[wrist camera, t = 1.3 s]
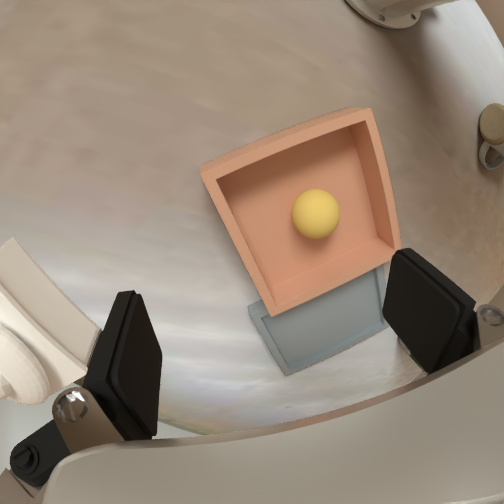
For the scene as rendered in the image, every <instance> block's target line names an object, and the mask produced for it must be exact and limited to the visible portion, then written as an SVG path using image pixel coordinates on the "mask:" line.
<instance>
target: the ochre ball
mask: <svg viewBox="0 0 504 504" xmlns="http://www.w3.org/2000/svg"><path fill="white" fill-rule="evenodd" d="M291 218H292V222H293V224H294V226H295V228H296V229H297V230H298V231H299V232H300V233H301V234H303V235H304V236H306V237H309V238H314V239H318V238H323V237H326V236H328V235H330V234H331V233H332V232H333V231H334V230H335V229H336V228H337V226H338V224H339V221H340V207H339V204H338V202H337V200H336V199H335V198H334V197H333V196H332V195H331V194H330V193H328V192H327V191H324V190H321V189H310V190H307V191H304V192H302V193H301V194H300V195H299V196H298V197H297V198H296V199H295V201H294V203H293V205H292V209H291Z"/></svg>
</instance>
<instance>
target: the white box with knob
mask: <svg viewBox="0 0 504 504" xmlns="http://www.w3.org/2000/svg"><path fill="white" fill-rule="evenodd" d="M99 330H100V327H99V326H98V325H97V324H96V323H94V322H93V321H92V320H91V319H90V318H89V317H88V316H87V315H86V314H85V313H84V312H83V311H82V310H81V309H80V308H79V307H78V306H77V305H76V304H75V303H74V302H73V301H72V300H71V299H70V298H69V297H68V296H67V295H66V294H65V293H64V292H63V291H62V290H61V289H60V288H59V287H58V286H57V285H56V284H55V282H54V281H53V280H52V279H51V278H50V277H49V276H48V275H47V274H46V273H45V271H44V270H43V269H42V268H41V267H40V266H39V264H38V263H37V262H36V261H35V260H34V259H33V257H32V256H31V255H30V254H29V253H28V251H27V250H26V249H25V248H24V246H23V245H22V244H21V243H20V241H19V240H18V239H17V237H16V236H15V235H14V236H13V237H12V238H11V239H9V240H8V241H7V242H6V243H4V244H3V245H2V246H1V247H0V399H4V398H8V399H10V400H12V401H14V402H17V403H20V404H25V405H38V404H41V403H43V402H44V401H45V400H46V399H47V398H48V397H49V396H50V395H52V394H54V393H55V392H57V391H59V390H61V389H62V388H64V387H66V386H67V385H69V384H71V383H72V382H74V381H76V380H78V379H79V378H81V377H83V376H84V375H86V373H87V370H88V368H87V364H88V361H89V358H90V355H91V352H92V349H93V346H94V344H95V341H96V338H97V335H98V333H99Z"/></svg>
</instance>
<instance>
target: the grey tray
mask: <svg viewBox="0 0 504 504" xmlns="http://www.w3.org/2000/svg"><path fill="white" fill-rule="evenodd" d="M385 294H386V285H385V278H384V272H383V265H382V264H381V265H379V266H378V267H376V268H374V269H372V270H370V271H368V272H366V273H364V274H362V275H360V276H358V277H356V278H354V279H352V280H350V281H348V282H346V283H344V284H342V285H340V286H338V287H336V288H334V289H332V290H329V291H327V292H325V293H323V294H321V295H319V296H317V297H315V298H313V299H310V300H308V301H306V302H304V303H302V304H300V305H297V306H295V307H293V308H291V309H288V310H286V311H284V312H282V313H279V314H277V315H275V316H273V317H271V315H270V314H269V312H268V310H267V308H266V306H265V304H264V302H263V300H260V301H258V302H255V303H253V304H251V305H249V306H248V310H249V314H250V316H251V318H252V320H253V322H254V323H255V325H256V327H257V329H258V330H259V332H260V334H261V336H262V337H263V339H264V341H265V343H266V344H267V346H268V348H269V349H270V351H271V353H272V354H273V356H274V358H275V360H276V361H277V363H278V365H279V366H280V368H281V370H282V371H283V373H284V375H285V376H288V375H290V374H293V373H295V372H298V371H300V370H302V369H305V368H307V367H309V366H311V365H314V364H316V363H318V362H320V361H323V360H325V359H327V358H329V357H331V356H333V355H335V354H338V353H340V352H342V351H344V350H346V349H348V348H350V347H352V346H354V345H356V344H358V343H360V342H362V341H364V340H365V339H367V338H369V337H371V336H373V335H375V334H377V333H379V332H380V331H382V330H384V329H386V328H388V327H389V326H390V325H389V324H388V323H387V321H386V320H385V319H384V317H383V314H382V308H383V303H384V299H385Z"/></svg>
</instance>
